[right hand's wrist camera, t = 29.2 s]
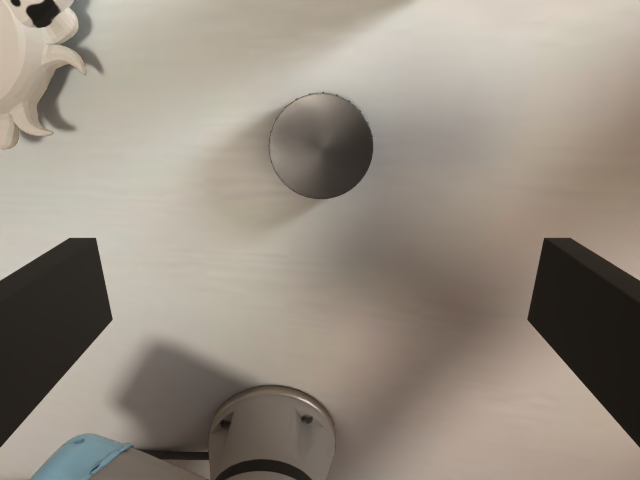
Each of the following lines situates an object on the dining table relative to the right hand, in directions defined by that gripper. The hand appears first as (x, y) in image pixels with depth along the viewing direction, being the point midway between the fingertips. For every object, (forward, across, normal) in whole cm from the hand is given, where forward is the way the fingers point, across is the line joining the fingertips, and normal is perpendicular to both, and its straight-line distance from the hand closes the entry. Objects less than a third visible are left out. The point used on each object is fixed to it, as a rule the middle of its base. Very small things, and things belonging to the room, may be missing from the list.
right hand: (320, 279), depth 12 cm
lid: (+26, 0, 0) cm, 26 cm away
